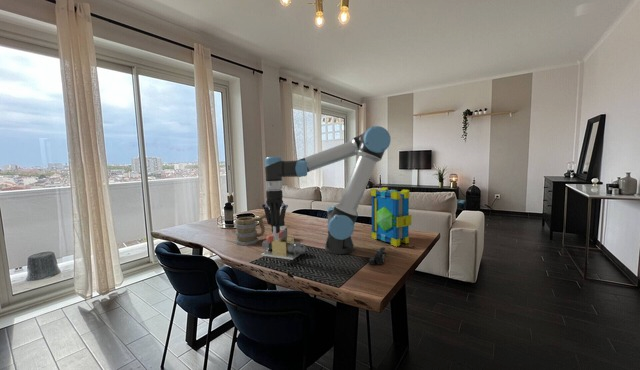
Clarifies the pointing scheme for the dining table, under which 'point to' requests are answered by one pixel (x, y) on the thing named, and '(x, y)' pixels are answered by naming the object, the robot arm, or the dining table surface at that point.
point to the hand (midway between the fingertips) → (276, 239)
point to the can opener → (378, 257)
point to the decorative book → (390, 215)
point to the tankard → (248, 230)
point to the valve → (283, 249)
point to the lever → (281, 236)
